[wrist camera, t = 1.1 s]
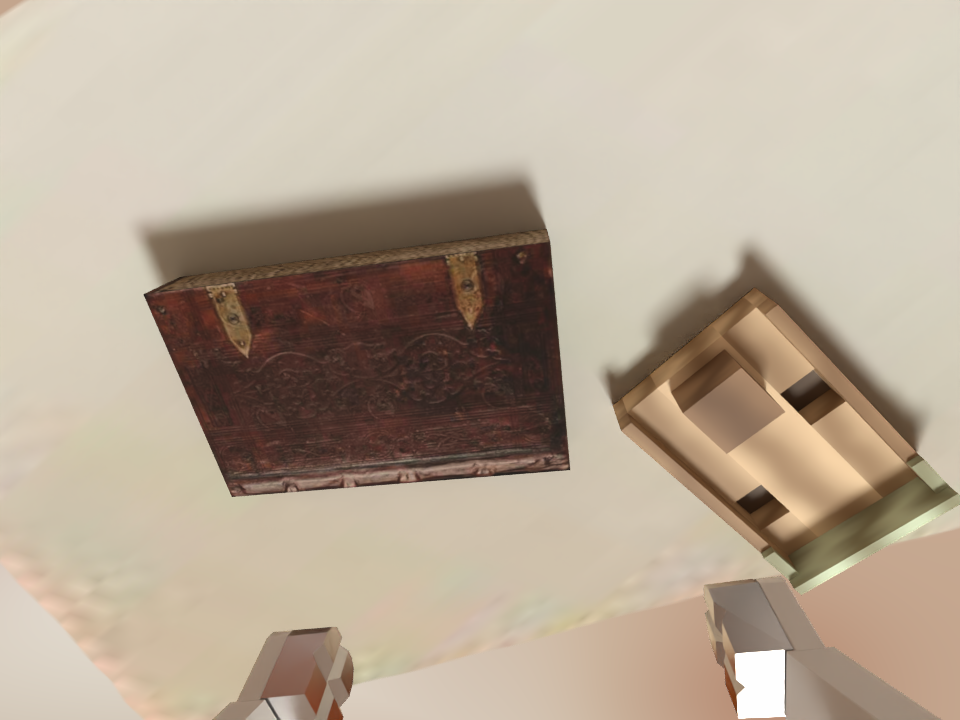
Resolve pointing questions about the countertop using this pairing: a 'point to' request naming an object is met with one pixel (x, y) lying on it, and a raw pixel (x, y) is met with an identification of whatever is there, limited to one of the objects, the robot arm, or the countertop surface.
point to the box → (789, 451)
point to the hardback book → (374, 365)
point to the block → (726, 402)
